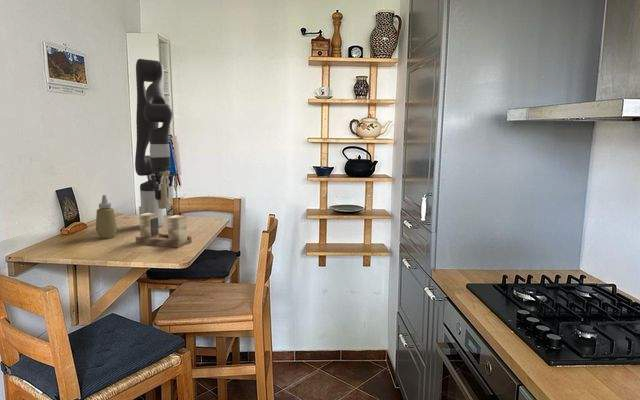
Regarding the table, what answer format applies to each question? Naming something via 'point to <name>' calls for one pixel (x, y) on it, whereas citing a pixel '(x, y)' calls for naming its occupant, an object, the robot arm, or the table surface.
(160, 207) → the beige tall post
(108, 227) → the squeeze bottle
